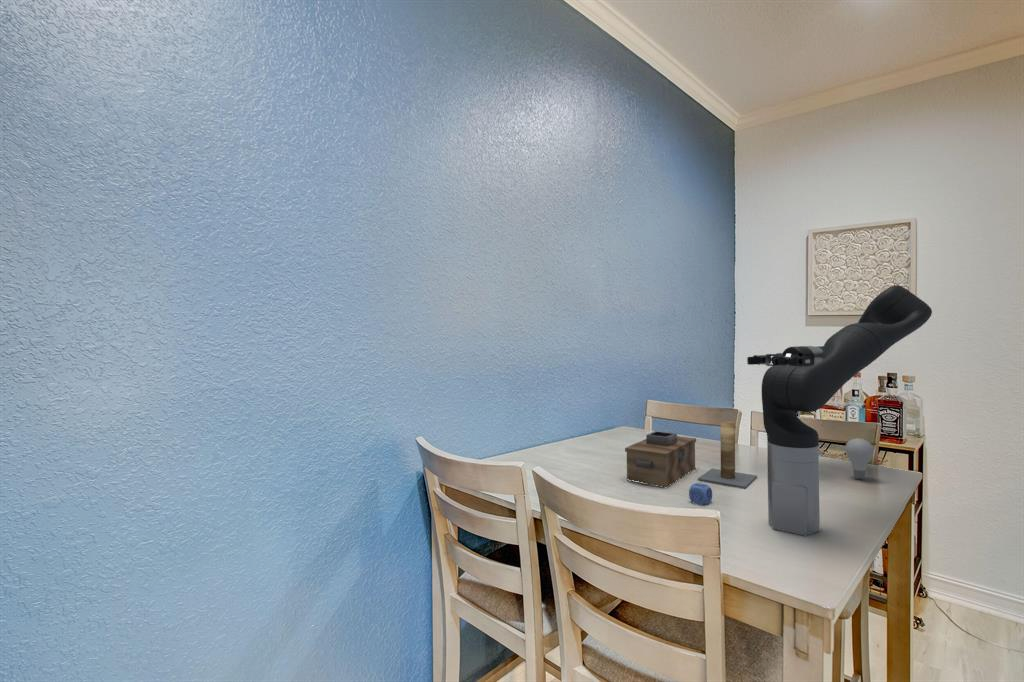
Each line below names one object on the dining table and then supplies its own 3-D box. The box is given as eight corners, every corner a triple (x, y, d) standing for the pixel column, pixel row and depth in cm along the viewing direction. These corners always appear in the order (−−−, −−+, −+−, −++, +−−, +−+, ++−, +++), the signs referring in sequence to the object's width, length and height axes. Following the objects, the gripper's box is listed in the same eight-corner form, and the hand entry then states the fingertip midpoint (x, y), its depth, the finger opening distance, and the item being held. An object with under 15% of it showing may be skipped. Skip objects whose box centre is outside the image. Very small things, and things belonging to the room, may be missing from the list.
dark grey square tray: (668, 446, 133) (668, 437, 133) (646, 443, 137) (646, 434, 137) (677, 442, 138) (677, 433, 138) (655, 439, 142) (655, 431, 142)
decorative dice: (696, 498, 118) (696, 482, 118) (712, 502, 115) (712, 485, 115) (688, 502, 115) (688, 485, 115) (705, 506, 112) (705, 489, 112)
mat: (745, 489, 124) (745, 486, 124) (697, 480, 131) (697, 478, 131) (757, 477, 133) (756, 475, 133) (712, 470, 141) (712, 468, 141)
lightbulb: (872, 477, 130) (872, 437, 130) (874, 484, 125) (874, 442, 125) (845, 474, 134) (844, 435, 134) (846, 480, 129) (845, 439, 128)
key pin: (733, 479, 130) (733, 424, 129) (719, 477, 132) (718, 422, 131) (736, 476, 132) (736, 422, 132) (722, 473, 135) (722, 420, 134)
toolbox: (664, 489, 124) (664, 455, 124) (623, 481, 132) (622, 448, 132) (698, 467, 144) (697, 437, 144) (660, 461, 151) (660, 433, 151)
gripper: (781, 345, 145) (740, 347, 139) (827, 346, 132) (783, 348, 126) (782, 370, 145) (740, 373, 139) (827, 374, 132) (783, 377, 126)
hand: (760, 361), depth 133 cm, fingers open, 8 cm apart
